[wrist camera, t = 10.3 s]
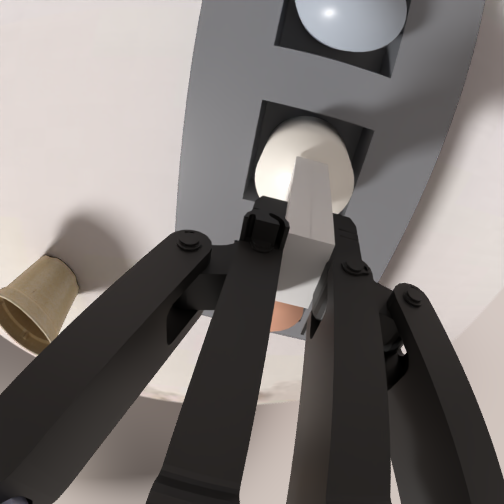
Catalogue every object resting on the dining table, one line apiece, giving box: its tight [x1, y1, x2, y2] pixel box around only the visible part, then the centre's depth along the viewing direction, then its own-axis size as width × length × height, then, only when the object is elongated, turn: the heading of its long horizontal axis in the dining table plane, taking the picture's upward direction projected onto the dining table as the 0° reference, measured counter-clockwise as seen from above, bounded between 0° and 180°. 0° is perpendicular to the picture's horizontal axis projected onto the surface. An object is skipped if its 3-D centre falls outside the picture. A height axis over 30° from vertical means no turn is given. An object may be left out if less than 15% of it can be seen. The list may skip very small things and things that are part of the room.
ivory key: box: [255, 116, 354, 214], centre depth 17 cm, size 5×5×4 cm
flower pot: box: [0, 255, 79, 356], centre depth 30 cm, size 9×9×9 cm
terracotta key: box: [270, 301, 304, 332], centre depth 22 cm, size 5×5×4 cm
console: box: [175, 0, 485, 340], centre depth 19 cm, size 28×14×4 cm, turn 169°
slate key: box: [295, 0, 407, 52], centre depth 11 cm, size 5×5×4 cm
